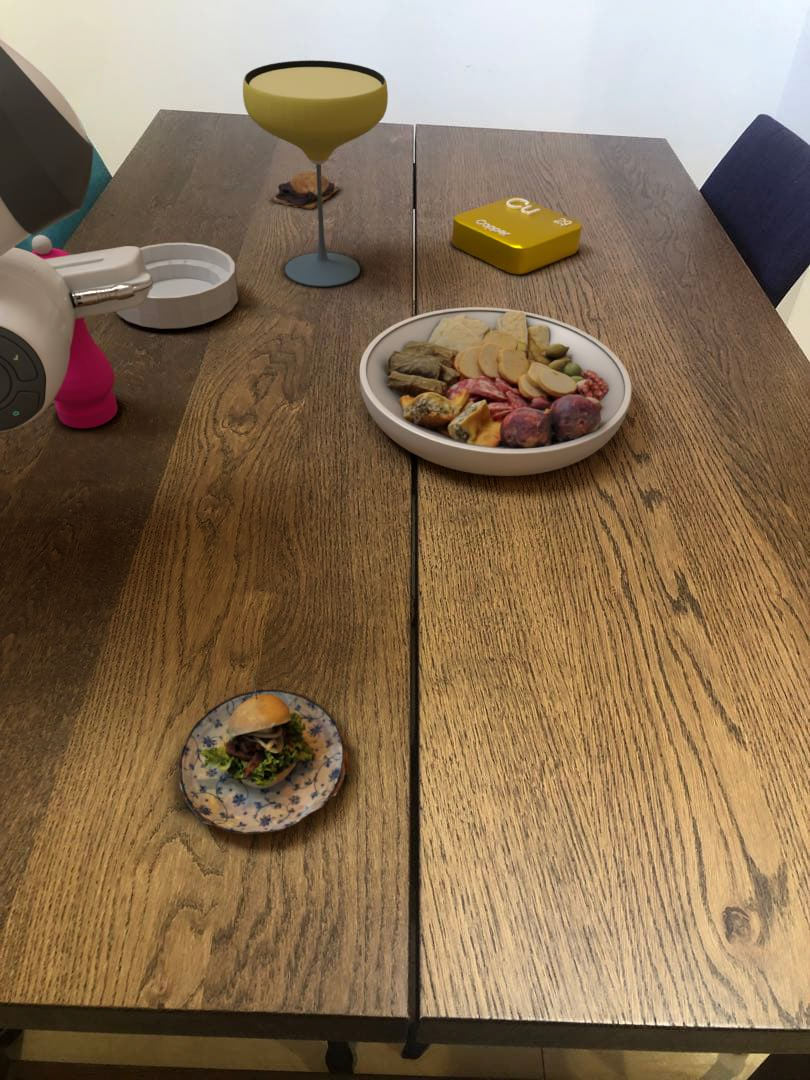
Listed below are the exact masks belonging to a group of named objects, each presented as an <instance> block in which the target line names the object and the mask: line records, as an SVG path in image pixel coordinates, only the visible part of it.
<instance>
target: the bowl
mask: <svg viewBox="0 0 810 1080" xmlns="http://www.w3.org/2000/svg"><path fill="white" fill-rule="evenodd" d="M359 388H360V393H361V396H362V400H363V402H364V405H365V407H366V410H367V411H368V413H369V415H370V416H371V417H372V419H373V421H374V422H375V423H376V424H377V426H378V427H379V428H380V429H381V430H382V431H383V432H384V433H385V434H386V435H387V436H388V437H389V438H390V439H391V440H393V441H394V442H395V443H396V444H397V445H399V446H401V447H402V448H403V449H405V450H406V451H408V452H410V453H411V454H414V455H415V456H417V457H420V458H421V459H423V460H426V461H428V462H431V463H432V464H436V465H439V466H442V467H444V468H448V469H452V470H455V471H460V472H464V473H469V474H474V475H475V474H476V475H483V476H493V477H494V476H495V477H517V476H518V477H519V476H520V477H521V476H529V475H538V474H543V473H548V472H552V471H556V470H559V469H563V468H566V467H568V466H571V465H573V464H577V463H578V462H581V461H582V460H584V459H586V458H588V457H589V456H591V455H593V454H594V453H596V452H597V451H599V450H600V449H601V448H603V446H605V445H606V444H607V443H608V442H609V441H610V440H611V439H612V438H613V436H614V435H615V434H616V433H617V432H618V430H619V429H620V427H621V426H622V424H623V423H624V420H625V418H626V416H627V414H628V410H629V407H630V404H631V399H632V381H631V378H630V375H629V373H628V370H627V369H626V367H625V365H624V364H623V361H621V360H620V358H619V357H618V356H617V355H616V354H615V352H613V351H612V350H611V349H610V348H609V347H608V346H606V345H605V344H604V343H603V342H601V341H600V340H599V339H597V338H595V337H594V336H592V335H591V334H589V333H587V332H585V331H584V330H581V329H579V328H577V327H575V326H573V325H571V324H568V323H565V322H563V321H561V320H558V319H556V318H551V317H548V316H545V315H542V314H537V313H533V312H527V311H523V310H518V309H511V308H510V309H509V308H502V307H485V306H474V307H473V306H469V307H467V306H466V307H454V308H446V309H439V310H434V311H429V312H425V313H420V314H418V315H414V316H411V317H409V318H405V319H404V320H402V321H399V322H397V323H395V324H393V325H391V326H389V327H387V328H386V329H384V330H383V331H382V332H381V333H379V334H378V335H377V336H376V337H374V339H373V340H371V342H370V343H369V344H368V346H367V347H366V349H365V350H364V352H363V354H362V356H361V360H360V363H359Z"/></svg>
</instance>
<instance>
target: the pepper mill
mask: <svg viewBox="0 0 810 1080" xmlns="http://www.w3.org/2000/svg"><path fill="white" fill-rule="evenodd" d="M31 248H32V249H33V250H31V251H30V252H31V253H33V254H35V255H37V256H39V257H40V258H42V259H43V260H44V259H50V258H56V257H62V256H68V255H71V253H69V252H67V251H65V250H62V249H60V248H55V247H53V243H52V241H51V239H49V237H47V236H46V235H43V234H37V235H35V236H34V237H33V239H32V240H31ZM115 381H116V376H115V374H114V370H113V367H112V364H111V362H110V360H109V359H108V357H107V355H106V354H105V353H104V352H103V351H102V349H101V348H100V347H99V345H98V344H97V343H96V342H95V340H94V339H93V337H92V335H91V333H90V332H89V329H88V327H87V324H86V320H85V317H84V318H78V319H75V325H74V331H73V338H72V343H71V347H70V357H69V363H68V368H67V372H66V375H65V378H64V381H63V383H62V386H61V388H60V390H59V391H58V393H57V395H56V397H55V398H54V400H53V401H55V402H54V406H55V409H56V413H57V416H58V419H59V421H60V422H61V423H62V424H63V425H65V426H67V427H69V428H75V429H91V428H95V427H100V426H102V425H104V424H107V423H108V422H110V420H112V419H114V417H115V416H116V415H117V412H118V404H117V399H116V395H115V393H114V391H113V390H112V389H113V387H114V384H115Z"/></svg>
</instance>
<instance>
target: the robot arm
mask: <svg viewBox="0 0 810 1080" xmlns="http://www.w3.org/2000/svg"><path fill="white" fill-rule="evenodd" d="M93 159H94V145H93V144H92V143H91V142H90V140H89V137H88V135H87V131H86V129H85V127H84V125H83V123H82V121H81V118H79V115H78V114H77V112H76V111H75V109H74V108H73V107H72V105H71V104H70V103H69V101H68V100H67V99H66V97H65V96H64V95H63V94H62V92H61V91H60V90H59V89H58V88H57V87H56V85H55V84H54V83H53V82H52V81H51V80H50V79H49V78H48V77H47V76H46V75H45V74H44V73H43V72H42V71H41V70H39V69H38V68H37V67H36V66H35V65H34V64H33V63H32V62H31V61H29V60H28V59H26V58H25V57H24V56H23V55H22V54H21V53H19V52H18V51H16V50H15V49H14V48H13V47H11V46H10V45H9V44H8V43H6V42H5V41H3V39H1V38H0V433H5V432H9V431H13V430H16V429H19V428H21V427H24V426H27V425H28V424H30V423H32V422H33V421H35V420H36V419H37V418H39V417H41V415H42V414H43V413H44V412H45V411H46V410H47V409H48V408H49V407H50V405H51V404H52V403H53V401H55V400H54V398H55V397H56V395H57V393H58V391H59V390H60V388H61V386H62V383H63V381H64V378H65V375H66V372H67V368H68V363H69V357H70V347H71V343H72V338H73V331H74V325H75V319H78V318H84V319H85V318H88V317H93V316H101V315H106V314H111V313H116V312H117V311H122V310H126V309H130V308H133V307H136V306H138V305H140V304H142V303H143V302H144V301H145V299H146V298H147V296H148V294H149V291H150V290H151V289H152V288H153V286H152V285H153V280H152V278H151V277H150V275H149V274H148V273H147V269H146V265H145V262H144V258H143V255H142V251H141V249H140V248H141V247H139V246H134V245H126V246H125V245H124V246H119V247H112V248H106V249H105V248H104V249H100V250H93V251H88V252H87V251H86V252H81V253H76V254H70V255H68V256H62V257H56V258H50V259H44V260H43V259H42V258H40V257H39V256H37V255H35V254H33V253H31V252H32V251H28V250H26V249H22V248H19V247H16V246H17V245H19V244H20V243H22V242H24V240H26V239H27V238H29V237H30V236H34V237H36V236H37V235H39V234H40V233H42V232H44V231H45V230H47V229H49V228H50V227H53V226H54V225H57V224H58V223H60V222H61V221H63V220H66V219H67V218H69V217H70V216H72V215H75V214H77V212H80V211H81V210H82V209H83V207H84V204H85V201H86V198H87V194H88V192H89V187H90V182H91V177H92V170H93V162H94V161H93Z"/></svg>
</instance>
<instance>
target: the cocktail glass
mask: <svg viewBox="0 0 810 1080" xmlns="http://www.w3.org/2000/svg"><path fill="white" fill-rule="evenodd" d="M242 99H243V104H244V108H245V111H246V113H247V115H248V116H249V118H250V119H251V120H252V121H253V122H254V123H255V124H256V125H257V126H259V127H260V128H261V129H262V130H264V131H265V132H267V133H269V134H270V135H272V136H274V137H276V138H278V139H280V140H282V141H285V142H287V143H289V144H292V145H293V146H296V147H297V148H298V149H300V150H301V151H302V152H303V153H304V155H305V156H306V157H307V159H308V160H309V161H310V162H311V163H312V164H314V165H316V166H315V167H316V169H315V170H316V172H317V193H318V205H317V222H318V226H317V228H318V242H317V243H318V245H317V252H311V253H305V254H301V255H299V256H297V257H294V258H292V259H291V260H289V261H288V262H287V263H286V265H285V267H284V271H285V275H286V276H287V277H288V278H289V279H290V280H291V281H293V282H294V283H296V284H299V285H303V286H307V287H313V288H332V287H338V286H342V285H345V284H348V283H351V282H352V281H353V280H355V279H356V278H357V277H358V276H359V274H360V271H361V267H360V265H359V263H358V262H357V261H356V260H354V259H353V258H351V257H349V256H347V255H344V254H339V253H334V252H327V249H326V241H325V230H324V229H325V227H324V210H323V209H324V207H323V202H322V182H321V175H322V165H324V164H325V163H326V162H327V161H328V160H329V158H330V157H331V155H332V154H333V152H334V151H335V150H336V149H338V148H340V147H341V146H342V145H344V144H346V143H349V142H351V141H353V140H355V139H358V138H359V137H361V136H363V135H365V134H367V133H368V132H370V131H372V129H373V128H375V127H376V126H377V125H378V124H379V123H380V122H381V121H382V119H383V118H384V116H385V114H386V113H387V108H388V100H389V91H388V84H387V80H386V78H385V76H384V75H383V74H381V73H380V71H379V72H378V71H377V70H375V69H372V68H369V67H367V66H363V65H360V64H355V63H350V62H342V61H333V60H314V59H313V60H311V59H309V60H305V59H304V60H290V61H289V60H287V61H281V62H274V63H268V64H265V65H261V66H258V67H255V68H253V69H251V70H250V71H249V72H247V73H246V74H245V75H244V77H243V80H242Z"/></svg>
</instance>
